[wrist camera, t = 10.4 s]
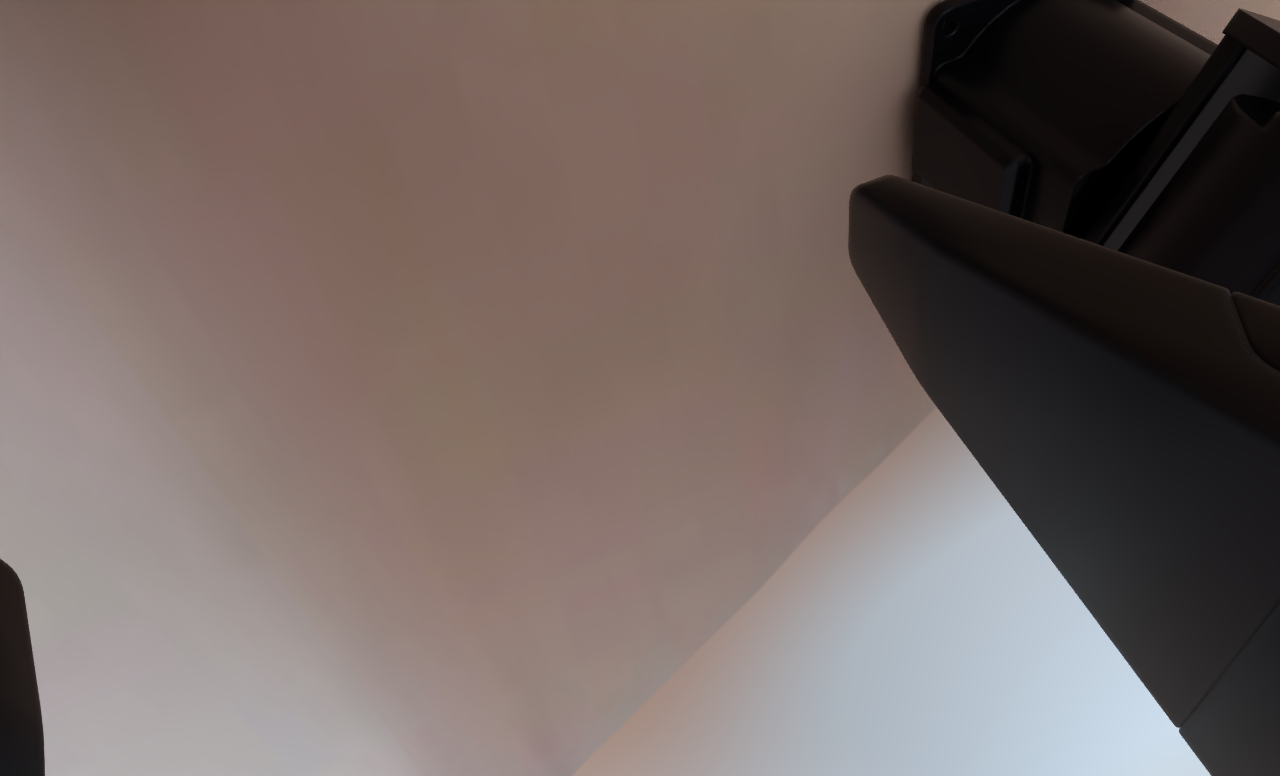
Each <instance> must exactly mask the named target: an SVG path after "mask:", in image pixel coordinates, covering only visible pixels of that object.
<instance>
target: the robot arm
mask: <svg viewBox="0 0 1280 776" xmlns="http://www.w3.org/2000/svg"><path fill="white" fill-rule="evenodd" d="M948 18H950V19H949V22H948V23H947V24H946V26H944V27H943V24H944V23H945V21H946V20H947V19H948ZM942 27H943V28H942ZM1222 33H1224V34H1225V36H1224V38H1223V39H1222V40H1221V42H1220V43H1219V45H1217V44H1215V43H1213V42H1212V41H1210V40H1208V39H1206V38H1205V37H1203V36H1201V35H1199V34H1197V33H1196V32H1194V31H1192V30H1190V29H1189V28H1187V27H1185V26H1183V25H1181V24H1180V23H1178V22H1176V21H1174V20H1173V19H1171V18H1169V17H1167V16H1166V15H1164V14H1162V13H1160V12H1158V11H1157V10H1155V9H1153V8H1151V7H1150V6H1148V5H1146V4H1144V3H1142V2H1141V1H1139V0H945V1H943V2H941V3H940V4H938V5H936V6H935V7H934V8H933V9H932V10H931V12H930V14H929V15H928V17H927V19H926V23H925V30H924V42H923V55H922V67H921V80H920V92H919V95H918V97H917V108H916V121H915V133H914V146H913V159H912V168H913V179H912V181H909V180H907V179H904V178H901V177H898V176H894V175H886V176H882V177H879V178H876V179H874V180H871V181H868V182H866V183H863V184H860V185H858V186H856V187H855V188H854V189H853V190H852V192H851V195H850V201H849V241H848V249H849V256H850V260H851V263H852V266H853V268H854V270H855V272H856V274H857V276H858V278H859V279H860V281H861V283H862V285H863V286H864V288H865V290H866V292H867V293H868V295H869V297H870V299H871V300H872V302H873V304H874V306H875V307H876V309H877V311H878V313H879V314H880V316H881V318H882V320H883V321H884V323H885V325H886V327H887V328H888V330H889V332H890V334H891V335H892V337H893V339H894V341H895V342H896V344H897V346H898V348H899V349H900V351H901V353H902V355H903V356H904V358H905V360H906V362H907V363H908V365H909V367H910V368H911V370H912V371H913V373H914V375H915V376H916V378H917V380H918V381H919V383H920V384H921V386H922V387H923V388H924V390H925V391H926V393H927V394H928V395H929V397H930V398H931V400H932V401H933V402H934V404H935V405H936V406H937V408H938V409H939V410H940V412H941V413H942V414H943V416H944V417H945V418H946V420H947V421H948V422H949V424H950V425H951V426H952V428H953V429H954V430H955V432H956V433H957V435H958V436H959V437H960V438H961V440H962V441H963V443H964V444H965V445H966V446H967V448H968V449H969V451H970V452H971V453H972V455H973V456H974V457H975V459H976V460H977V461H978V463H979V464H980V465H981V467H982V468H983V469H984V471H985V472H986V473H987V475H988V476H989V477H990V479H991V480H992V481H993V483H994V484H995V485H996V487H997V488H998V489H999V491H1000V492H1001V493H1002V495H1003V496H1004V497H1005V499H1006V500H1007V502H1008V503H1009V504H1010V506H1011V507H1012V508H1013V510H1014V511H1015V512H1016V514H1017V515H1018V516H1019V518H1020V519H1021V520H1022V522H1023V523H1024V524H1025V526H1026V527H1027V528H1028V530H1029V531H1030V532H1031V534H1032V535H1033V536H1034V538H1035V539H1036V540H1037V542H1038V543H1039V544H1040V546H1041V547H1042V548H1043V550H1044V551H1045V552H1046V554H1047V555H1048V556H1049V558H1050V559H1051V560H1052V562H1053V563H1054V564H1055V566H1056V567H1057V568H1058V570H1059V571H1060V573H1061V574H1062V575H1063V576H1064V578H1065V579H1066V580H1067V582H1068V583H1069V585H1070V586H1071V587H1072V589H1073V590H1074V591H1075V593H1076V594H1077V595H1078V596H1079V598H1080V599H1081V600H1082V602H1083V603H1084V605H1085V606H1086V607H1087V609H1088V610H1089V611H1090V613H1091V614H1092V615H1093V617H1094V618H1095V619H1096V621H1097V622H1098V623H1099V625H1100V626H1101V628H1102V629H1103V630H1104V632H1105V633H1106V634H1107V636H1108V637H1109V638H1110V640H1111V641H1112V642H1113V643H1114V645H1115V646H1116V648H1117V649H1118V650H1119V652H1120V653H1121V654H1122V656H1123V657H1124V658H1125V660H1126V661H1127V662H1128V664H1129V665H1130V666H1131V668H1132V669H1133V670H1134V672H1135V673H1136V674H1137V676H1138V677H1139V678H1140V680H1141V681H1142V682H1143V684H1144V685H1145V686H1146V688H1147V689H1148V690H1149V692H1150V693H1151V694H1152V696H1153V697H1154V699H1155V700H1156V701H1157V703H1158V704H1159V705H1160V706H1161V708H1162V709H1163V711H1164V712H1165V713H1166V715H1167V716H1168V717H1169V719H1170V720H1171V721H1172V723H1173V724H1174V725H1175V726H1176V727H1178V728H1180V729H1179V733H1180V734H1181V736H1182V737H1183V738H1184V739H1185V741H1186V742H1187V744H1188V745H1189V746H1190V748H1191V749H1192V750H1193V752H1194V753H1195V754H1196V756H1197V757H1198V758H1199V760H1200V761H1201V762H1202V764H1203V765H1204V766H1205V768H1206V769H1207V770H1208V772H1209V773H1210V774H1211V776H1280V21H1279V20H1275V19H1272V18H1269V17H1266V16H1263V15H1260V14H1256V13H1253V12H1250V11H1247V10H1244V9H1240V8H1239V9H1238V11H1237V12H1236V13H1235V15H1234V16H1233V18H1232V19H1231V21H1230V22H1229V23H1228V25H1227V26H1226V28H1225V29H1224V30H1223V32H1222ZM0 776H45V758H44V736H43V725H42V715H41V707H40V700H39V693H38V686H37V680H36V673H35V666H34V659H33V652H32V645H31V638H30V632H29V625H28V618H27V611H26V604H25V597H24V591H23V587H22V584H21V581H20V579H19V577H18V576H17V574H16V573H15V571H14V570H13V569H12V568H11V567H10V566H9V565H8V564H7V563H5V562H4V561H3V560H1V559H0Z"/></svg>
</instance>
